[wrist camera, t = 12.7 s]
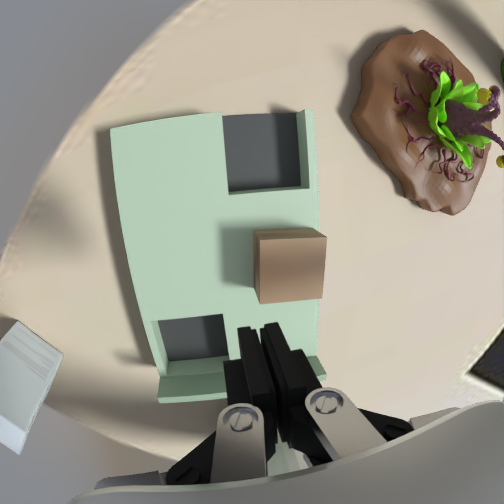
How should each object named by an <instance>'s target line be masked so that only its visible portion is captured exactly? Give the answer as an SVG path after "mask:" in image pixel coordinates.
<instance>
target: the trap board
mask: <svg viewBox="0 0 504 504" xmlns="http://www.w3.org/2000/svg"><path fill="white" fill-rule="evenodd" d="M110 137H111V149H112V160H113V170H114V179H115V187H116V194H117V202H118V208H119V215H120V221H121V227H122V233H123V238H124V243H125V249H126V254H127V258H128V263H129V268H130V272H131V277H132V281H133V285H134V290H135V294H136V298H137V302H138V306H139V309H140V313H141V317H142V320H143V324H144V328H145V331H146V334H147V338H148V341H149V344H150V348H151V351H152V354H153V357H154V360H155V363H156V366H157V369H158V372H159V375H160V382H159V389H158V396H157V398H158V401H159V403H177V402H191V401H203V400H213V399H222V398H227V392H226V384H225V375H224V366H223V361H226V360H234V359H241V357H240V349H239V341H238V333H237V328H239V327H247V326H250V327H251V329H256V330H257V334H258V337H259V340H260V328H264V324H267V323H274V322H278V323H279V326H280V328H281V330H282V332H283V334H284V336H285V339H286V341H287V343H288V345H289V347H290V349H291V350H297V349H302V350H303V351H304V353H305V355H306V357H307V359H308V361H309V363H310V365H311V366H312V368H313V370H314V372H315V374H316V376H317V378H318V380H319V381H323V380H326V372H325V370H324V369H323V367H322V365H321V363H320V361H319V360H318V358H317V356H316V355H317V338H318V314H319V299H312V300H302V301H292V302H281V303H270V304H260V303H259V301H258V298H257V296H256V293H255V290H254V269H253V230H268V229H295V228H314V229H315V230H317V231H318V232H319V191H318V168H317V150H316V135H315V122H314V110H310V109H304V110H302V111H300V112H298V113H296V114H252V115H235V116H222V112H216V113H205V114H196V115H187V116H179V117H172V118H165V119H159V120H153V121H147V122H141V123H136V124H131V125H126V126H121V127H116V128H111V129H110ZM260 343H261V341H260Z"/></svg>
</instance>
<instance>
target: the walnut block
mask: <svg viewBox="0 0 504 504" xmlns="http://www.w3.org/2000/svg"><path fill="white" fill-rule="evenodd" d="M326 243H327V237H326V236H324V235H323V234H321V233H320V232H318V231H317V230H315V229H314V228H295V229H268V230H253V269H254V290H255V293H256V296H257V298H258V301H259V303H260V304H270V303H281V302H292V301H302V300H312V299H321V298H322V293H323V282H324V270H325V257H326Z"/></svg>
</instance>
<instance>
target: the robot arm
mask: <svg viewBox="0 0 504 504" xmlns="http://www.w3.org/2000/svg"><path fill="white" fill-rule="evenodd" d="M237 333H238V341H239V349H240V357H241V359H234V360H226V361H223V366H224V375H225V384H226V392H227V400H228V407H226V408H225V409H223V410H222V412H221V413H220V414H219V417H218V421H217V429H216V431H215V432H214V433H212V434H211V435H210V436H209V437H208V438H207V439H205V440H204V441H203V442H202V443H201V444H199V445H198V446H197V447H196V448H195V449H193V450H192V451H191V452H190V453H189V454H187V455H186V456H185V457H184V458H182V459H181V460H180V461H179V462H177V463H176V464H175V465H173V466H172V467H171V469H169V471H167V472H162V473H160V472H159V471H152V472H146V473H140V474H133V475H124V476H115V477H107V478H104V479H102V480H100V481H98V482H97V484H96V485H95V487H94V490H92V491H88V492H85V493H82V494H80V495H77V496H75V497H74V498H72V499H71V500H70V501H69V502H68V504H504V402H503V401H485V402H480V403H476V404H472V405H469V406H466V407H463V408H456V407H454V408H448V409H445V410H441V411H438V412H434V413H430V414H426V415H422V416H418V417H414V418H410V420H409V421H408V422H406V421H404V420H402V419H399V418H394V417H390V416H386V415H382V414H378V413H374V412H370V411H367V410H363V409H359V408H357V407H356V406H355V405H354V404H353V403H352V401H351V400H350V399H349V398H348V397H347V396H346V395H345V394H344V393H343V392H342V391H340V390H338V389H335V388H330V387H327V388H322V386H321V384H320V382H319V380H318V378H317V376H316V374H315V372H314V370H313V368H312V366H311V365H310V363H309V361H308V359H307V357H306V355H305V353H304V351H303V350H302V349H297V350H291V349H290V347H289V345H288V343H287V341H286V339H285V336H284V334H283V332H282V330H281V328H280V326H279V323H278V322H274V323H267V324H264V328H260V340H259V337H258V334H257V330H256V329H251V327H250V326H247V327H239V328H237ZM260 341H261V343H260Z"/></svg>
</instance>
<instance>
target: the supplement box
mask: <svg viewBox="0 0 504 504" xmlns="http://www.w3.org/2000/svg"><path fill="white" fill-rule="evenodd" d="M62 358H63V354H62V353H61V352H59V351H58V350H56V349H55V348H53V347H52V346H50V345H49V344H48V343H46V342H45V341H44V340H42V339H41V338H39V337H38V336H37V335H35V334H34V333H33V332H32V331H30V330H29V329H28V328H27V327H25V326H24V325H23V324H21V323H20V322H19V321H17V322H16V323H15V324H14V325H13V326H12V327H11V329H10V330H9V331H8V332H7V333H6V334H5V335H4V336H3V338H2V339H1V340H0V442H1V443H2V444H4V445H5V446H7V447H8V448H9V449H11V450H12V451H14V452H15V453H17V454H18V455H20V454H21V452H22V449H23V447H24V444H25V442H26V440H27V437H28V435H29V432H30V430H31V428H32V425H33V423H34V420H35V419H36V416H37V414H38V412H39V410H40V408H41V406H42V404H43V402H44V400H45V398H46V396H47V394H48V392H49V390H50V388H51V386H52V383H53V380H54V378H55V375H56V373H57V370H58V368H59V365H60V363H61V360H62Z"/></svg>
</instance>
